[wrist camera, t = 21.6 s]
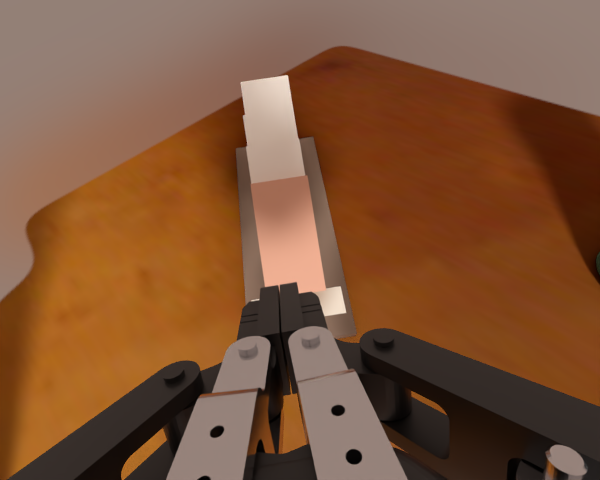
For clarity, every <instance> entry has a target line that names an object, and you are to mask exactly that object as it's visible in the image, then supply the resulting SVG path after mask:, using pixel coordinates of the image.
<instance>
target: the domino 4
mask: <svg viewBox="0 0 600 480" xmlns="http://www.w3.org/2000/svg"><path fill="white" fill-rule="evenodd" d="M250 185H251V192H252V199H253V206H254V213H255V220H256V227H257V234H258V241H259V248H260V255H261V262H262V269H263V276H264V283H265V287H269V286H275V285H278V286H279V291H280V285H281V284H287V283H293V282H297V285H298V291H299V293H305V292H311V291H312V292H319V291H325V290H326V286H325V280H324V274H323V268H322V262H321V256H320V250H319V243H318V237H317V231H316V225H315V219H314V213H313V206H312V200H311V194H310V188H309V182H308V176H307V175H305V176H299V177H292V178H286V179H279V180H273V181H266V182H259V183H253V184H250Z"/></svg>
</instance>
